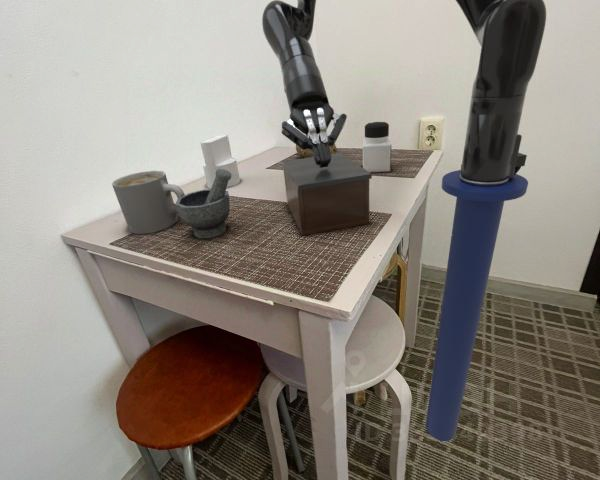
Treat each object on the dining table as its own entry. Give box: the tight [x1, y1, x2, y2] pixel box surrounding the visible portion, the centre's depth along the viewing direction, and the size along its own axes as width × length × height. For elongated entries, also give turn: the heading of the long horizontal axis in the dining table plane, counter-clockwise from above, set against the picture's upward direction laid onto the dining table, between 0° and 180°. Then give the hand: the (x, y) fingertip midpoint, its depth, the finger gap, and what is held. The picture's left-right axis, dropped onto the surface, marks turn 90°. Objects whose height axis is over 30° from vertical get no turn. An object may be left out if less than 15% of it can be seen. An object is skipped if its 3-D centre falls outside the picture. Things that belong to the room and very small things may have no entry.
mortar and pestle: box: [175, 169, 231, 239], centre depth 61 cm, size 11×9×12 cm
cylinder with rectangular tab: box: [200, 134, 241, 189], centre depth 88 cm, size 9×9×12 cm
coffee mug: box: [111, 170, 186, 235], centre depth 67 cm, size 13×10×10 cm
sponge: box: [295, 134, 338, 158], centre depth 105 cm, size 13×8×20 cm
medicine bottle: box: [362, 121, 392, 173], centre depth 87 cm, size 7×7×12 cm
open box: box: [282, 165, 370, 236], centre depth 64 cm, size 16×13×9 cm
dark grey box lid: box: [282, 152, 373, 190], centre depth 61 cm, size 17×13×1 cm
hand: (324, 164), depth 59 cm, fingers closed
